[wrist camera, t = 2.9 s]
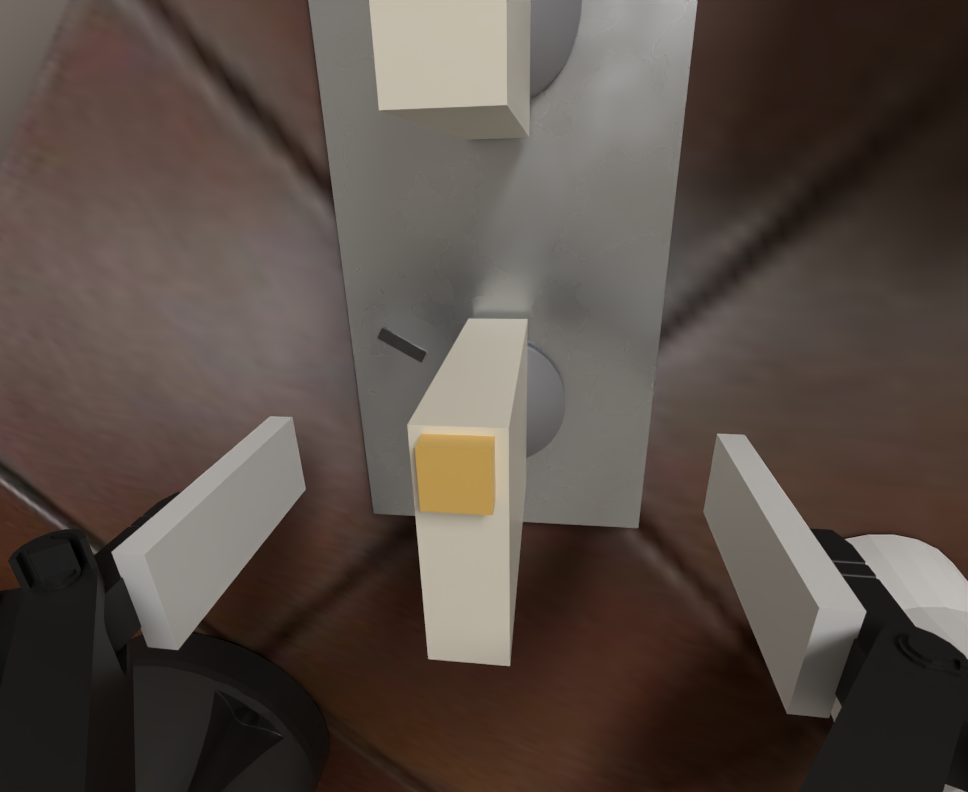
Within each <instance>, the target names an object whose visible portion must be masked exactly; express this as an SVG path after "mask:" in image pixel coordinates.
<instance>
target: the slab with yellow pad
mask: <svg viewBox="0 0 968 792" xmlns="http://www.w3.org/2000/svg"><path fill="white" fill-rule="evenodd" d="M527 334H528V319H470V318H469V319H468V320H467V322H466V324H465V326H464V327H463V329H462V331H461V332H460V334H459V336H458V338H457V339H456V341H455V343H454V345H453V346H452V348H451V350H450V352H449V353H448V355H447V357H446V358H445V360H444V362H443V364H442V365H441V367H440V369H439V371H438V372H437V374H436V376H435V378H434V379H433V381H432V383H431V385H430V386H429V388H428V390H427V391H426V393H425V395H424V397H423V398H422V400H421V402H420V404H419V405H418V407H417V409H416V411H415V412H414V414H413V416H412V417H411V419H410V421H409V423H408V424H407V428H408V439H409V451H410V462H411V473H412V484H413V495H414V506H415V517H416V528H417V540H418V551H419V562H420V573H421V584H422V595H423V606H424V617H425V629H426V640H427V651H428V659H434V660H445V661H456V662H468V663H479V664H490V665H502V666H510V661H511V649H512V638H513V626H514V615H515V603H516V592H517V580H518V569H519V557H520V546H521V534H522V523H523V511H524V500H525V488H526V458H527V457H530V456H532V455H534V454H536V453H537V452H539V451H540V450H542V449H543V448H545V447H546V446H547V445H548V444H549V443H550V442H551V441H552V439H553V438H554V437H555V436H556V434H557V432H558V431H559V429H560V427H561V424H562V422H563V418H564V413H565V392H564V387H563V383H562V380H561V378H560V376H559V374H558V372H557V370H556V368H555V367H554V365H553V364H552V363H551V362H550V361H549V360H548V358H547V357H545V356H544V355H543V354H542V353H541V352H539V351H538V350H536V349H535V348H533V347H531V346H529V345H527Z"/></svg>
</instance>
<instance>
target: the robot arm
mask: <svg viewBox="0 0 968 792" xmlns="http://www.w3.org/2000/svg"><path fill="white" fill-rule="evenodd" d="M305 490H306V487H305V482H304V477H303V471H302V466H301V461H300V455H299V450H298V445H297V439H296V434H295V429H294V423H293V418H292V417H274V416H270V417H269V418H268V419H267V420H265V421H264V422H263V423H262V424H261V425H260V426H258V427H257V428H256V429H255V430H254V431H252V432H251V433H250V434H249V435H248V436H247V437H245V438H244V439H243V440H242V441H241V442H240V443H238V444H237V445H236V446H235V447H234V448H233V449H231V450H230V451H229V452H228V453H227V454H226V455H224V456H223V457H222V458H221V459H220V460H219V461H217V462H216V463H215V464H214V465H213V466H212V467H210V468H209V469H208V470H207V471H206V472H205V473H203V474H202V475H201V476H200V477H199V478H197V479H196V480H195V481H194V482H193V483H192V484H190V485H189V486H188V487H187V488H186V489H185V490H183V491H182V492H177V493H175V494H173V495H171V496H169V497H167V498H165V499H163V500H161V501H160V502H158V503H157V504H155V505H154V506H153V507H152V508H151V509H149V510H148V511H147V512H146V513H145V514H143V517H140V518H139V519H137V520H136V521H135V522H134V523H133V524H131V527H128V528H127V529H125V530H124V531H123V532H122V533H120V534H119V535H118V536H117V537H116V538H114V539H113V540H112V541H111V542H110V543H108V544H107V545H106V546H105V547H104V548H102V549H101V550H100V551H99V552H98V553H96V554H95V555H93V553H92V550H91V548H90V545H89V543H88V540H87V538H86V535H85V533H84V532H83V531H80V530H77V529H65V530H60V531H55V532H51V533H48V534H46V535H43V536H40V537H37V538H35V539H34V540H32V541H30V542H28V543H26V544H24V545H23V546H21V547H20V548H19V549H18V550H16V551H15V552H14V553H13V554H12V556H11V557H10V559H9V560H8V561H9V563H10V566H11V568H12V570H13V572H14V574H15V576H16V578H17V580H18V582H19V584H20V586H21V588H18V589H12V590H5V591H0V792H315V789H316V787H317V784H318V782H319V779H320V777H321V774H322V771H323V769H324V766H325V764H326V761H327V758H328V754H329V736H328V731H327V727H326V725H325V722H324V719H323V717H322V715H321V713H320V712H319V710H318V708H317V707H316V705H315V704H314V702H313V701H312V699H311V698H310V697H309V696H308V694H307V693H306V692H305V691H304V690H303V689H302V688H301V687H300V686H299V685H298V684H297V683H296V682H295V681H294V680H293V679H292V678H291V677H290V676H288V675H287V674H286V673H285V672H283V671H282V670H281V669H279V668H278V667H276V666H275V665H273V664H272V663H270V662H269V661H267V660H266V659H264V658H262V657H260V656H259V655H257V654H255V653H253V652H251V651H249V650H247V649H244V648H242V647H240V646H237V645H235V644H232V643H229V642H226V641H223V640H220V639H217V638H213V637H209V636H205V635H199V634H194V633H192V632H193V631H194V629H195V628H196V627H197V626H198V624H199V623H200V622H201V621H202V619H203V618H204V617H205V616H206V614H207V613H208V612H209V611H210V609H211V608H212V607H213V605H214V604H215V603H216V602H217V600H218V599H219V598H220V597H221V595H222V594H223V593H224V592H225V590H226V589H227V588H228V587H229V585H230V584H231V583H232V582H233V580H234V579H235V578H236V577H237V575H238V574H239V573H240V571H241V570H242V569H243V568H244V566H245V565H246V564H247V563H248V561H249V560H250V559H251V558H252V556H253V555H254V554H255V553H256V551H257V550H258V549H259V548H260V546H261V545H262V544H263V543H264V541H265V540H266V539H267V537H268V536H269V535H270V534H271V532H272V531H273V530H274V529H275V527H276V526H277V525H278V524H279V522H280V521H281V520H282V519H283V517H284V516H285V515H286V514H287V512H288V511H289V510H290V509H291V507H292V506H293V505H294V503H295V502H296V501H297V500H298V498H299V497H300V496H301V495H302V493H303V492H304V491H305ZM704 515H705V517H706V520H707V522H708V524H709V527H710V529H711V532H712V534H713V537H714V539H715V541H716V544H717V546H718V549H719V551H720V553H721V556H722V558H723V561H724V563H725V566H726V568H727V570H728V573H729V575H730V578H731V580H732V582H733V585H734V587H735V590H736V592H737V594H738V597H739V599H740V602H741V604H742V607H743V609H744V611H745V614H746V616H747V619H748V621H749V623H750V626H751V628H752V631H753V633H754V636H755V638H756V640H757V643H758V645H759V648H760V650H761V652H762V655H763V657H764V660H765V662H766V664H767V667H768V669H769V672H770V674H771V677H772V679H773V681H774V684H775V686H776V689H777V691H778V693H779V696H780V698H781V701H782V703H783V706H784V708H785V710H786V713H787V714H794V715H803V716H813V717H822V718H829V716H830V714H831V711H832V708H833V705H834V702H835V699H836V697H837V699H838V701H839V702H840V704H841V706H842V708H841V709H840V711H839V713H838V715H837V717H836V719H835V721H834V723H833V725H832V727H831V729H830V731H829V733H828V735H827V737H826V739H825V741H824V743H823V745H822V747H821V749H820V751H819V753H818V755H817V757H816V759H815V761H814V763H813V765H812V767H811V769H810V771H809V773H808V775H807V777H806V779H805V781H804V783H803V784H802V786H801V788H800V790H799V792H943V790H944V787H945V784H947V785H949V786H952V787H955V788H957V789H960V790H962V791H965V792H968V659H967V658H966V656H965V655H964V654H963V653H962V652H960V651H959V650H958V649H957V648H956V647H955V646H953V645H952V644H951V643H950V642H948V641H946V640H944V639H943V638H941V637H939V636H937V635H936V634H934V633H932V632H929V631H926V630H923V629H921V628H918V627H916V626H915V625H914V624H913V622H912V621H911V620H910V619H909V617H908V616H907V615H906V613H905V612H904V611H903V610H902V608H901V607H900V606H899V604H898V603H897V602H896V601H895V599H894V598H893V597H892V595H891V594H890V593H889V591H888V590H887V589H886V588H885V586H884V585H883V584H882V582H881V581H880V580H879V579H876V575H875V573H874V572H873V571H872V570H871V568H870V567H869V566H868V565H866V564H865V560H864V559H863V558H862V557H861V555H860V554H859V553H858V551H857V550H856V549H855V548H854V546H853V545H852V544H850V543H849V542H848V541H846V540H845V539H844V538H842V537H841V536H839V535H838V534H837V533H835V532H834V531H833V530H824V529H809V527H808V526H807V524H806V523H805V522H804V520H803V519H802V517H801V516H800V514H799V513H798V511H797V510H796V508H795V507H794V506H793V504H792V503H791V501H790V500H789V498H788V497H787V495H786V494H785V493H784V491H783V490H782V488H781V487H780V485H779V484H778V482H777V481H776V479H775V478H774V477H773V475H772V474H771V472H770V471H769V469H768V468H767V466H766V465H765V464H764V462H763V461H762V459H761V458H760V456H759V455H758V453H757V452H756V450H755V449H754V448H753V446H752V445H751V443H750V442H749V440H748V439H747V437H746V436H745V435H739V434H717V436H716V442H715V448H714V453H713V459H712V465H711V471H710V477H709V482H708V488H707V494H706V500H705V506H704ZM140 628H141V631H142V633H143V635H142V636H139V637H136V638H133V639H131V638H132V637H133V636H134V634H135V633H136V632H137V631H138V630H139V629H140ZM130 639H131V640H130Z"/></svg>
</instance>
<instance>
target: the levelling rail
mask: <svg viewBox="0 0 968 792" xmlns="http://www.w3.org/2000/svg"><path fill="white" fill-rule="evenodd" d="M308 2H309V10H310V18H311V25H312V33H313V41H314V49H315V57H316V65H317V73H318V81H319V88H320V96H321V104H322V112H323V120H324V128H325V136H326V143H327V151H328V159H329V167H330V175H331V183H332V191H333V198H334V206H335V214H336V222H337V230H338V238H339V246H340V253H341V261H342V269H343V277H344V285H345V293H346V301H347V308H348V316H349V324H350V332H351V340H352V348H353V356H354V363H355V371H356V379H357V387H358V395H359V403H360V411H361V418H362V426H363V434H364V442H365V450H366V458H367V466H368V473H369V481H370V489H371V497H372V505H373V513H374V514H389V515H407V516H415V506H414V495H413V484H412V473H411V462H410V451H409V439H408V428H407V424H408V423H409V421H410V419H411V417H412V416H413V414H414V412H415V411H416V409H417V407H418V405H419V404H420V402H421V400H422V398H423V397H424V395H425V393H426V391H427V390H428V388H429V386H430V385H431V383H432V381H433V379H434V378H435V376H436V374H437V372H438V371H439V369H440V367H441V365H442V364H443V362H444V360H445V358H446V357H447V355H448V353H449V352H450V350H451V348H452V346H453V345H454V343H455V341H456V339H457V338H458V336H459V334H460V332H461V331H462V329H463V327H464V326H465V324H466V322H467V320H468V319H469V318H470V319H528V334H527V345H529V346H531V347H533V348H535V349H536V350H538V351H539V352H541V353H542V354H543V355H544V356H545V357H547V358H548V360H549V361H550V362H551V363H552V364H553V365H554V367H555V368H556V370H557V372H558V374H559V376H560V378H561V380H562V383H563V387H564V392H565V413H564V418H563V422H562V424H561V427H560V429H559V431H558V432H557V434H556V436H555V437H554V438H553V439H552V441H551V442H550V443H549V444H548V445H547V446H546V447H545V448H543V449H542V450H540V451H539V452H537V453H536V454H534V455H532V456H530V457H527V458H526V488H525V500H524V511H523V522H535V523H553V524H572V525H590V526H608V527H627V528H638V525H639V517H640V508H641V499H642V490H643V481H644V472H645V463H646V454H647V445H648V436H649V427H650V419H651V410H652V401H653V392H654V383H655V374H656V365H657V356H658V347H659V338H660V329H661V321H662V312H663V303H664V294H665V285H666V276H667V267H668V258H669V249H670V240H671V231H672V223H673V214H674V205H675V196H676V187H677V178H678V169H679V160H680V151H681V142H682V133H683V125H684V116H685V107H686V98H687V89H688V80H689V71H690V62H691V53H692V44H693V35H694V27H695V18H696V9H697V0H582V7H581V17H580V23H579V28H578V33H577V36H576V40H575V43H574V46H573V48H572V51H571V53H570V55H569V57H568V59H567V61H566V63H565V64H564V66H563V68H562V70H561V71H560V72H559V74H558V75H557V76H556V77H555V79H554V80H553V81H552V82H551V83H550V84H549V85H548V86H547V87H546V88H545V89H544V90H543V91H541V92H540V93H539V94H538V95H536V96H534V97H533V98H531V99H530V126H529V138H502V139H472V140H461V139H459V138H456V137H453V136H450V135H447V134H444V133H442V132H439V131H436V130H433V129H430V128H427V127H425V126H422V125H419V124H416V123H413V122H411V121H408V120H405V119H402V118H399V117H396V116H394V115H391V114H388V113H385V112H382V111H380V110H379V106H378V94H377V83H376V72H375V61H374V50H373V39H372V28H371V17H370V5H369V0H308Z"/></svg>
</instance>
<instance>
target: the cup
mask: <svg viewBox="0 0 968 792" xmlns="http://www.w3.org/2000/svg"><path fill="white" fill-rule="evenodd" d="M845 540H846V541H848V542H849V543H850V544H852V545H853V546H854V548H855V549H856V550H857V551H858V553H859V554H860V555H861V557H862V558H863V559H864V560H865V564H866V565H868V566H869V567H870V568H871V570H872V571H873V572H874V573H875V575H876V579H879V580H880V581H881V582H882V584H883V585H884V586H885V588H886V589H887V590H888V591H889V593H890V594H891V595H892V597H893V598H894V599H895V601H896V602H897V603H898V604H899V606H900V607H901V608H902V610H903V611H904V612H905V613H906V615H907V616H908V617H909V619H910V620H911V621H912V622H913V624H914V625H915V626H916V627H918V628H921V629H923V630H926V631H929V632H932V633H934V634H936V635H937V636H939V637H941V638H943V639H944V640H946V641H948V642H950V643H951V644H952V645H953V646H955V647H956V648H957V649H958V650H959V651H960V652H962V653H963V654H964V655H965V656H966V658H967V659H968V581H967V580H966V579H965V578H964V576H963V575H962V574H961V573H960V571H959V570H958V569H957V568H956V566H955V565H954V564H953V563H952V562H951V561H950V560H949V559H948V558H947V557H946V556H945V555H944V554H943V553H941V552H940V551H939V550H938V549H936V548H934V547H932V546H930V545H928V544H926V543H924V542H922V541H920V540H917V539H912V538H908V537H903V536H898V535H863V536H858V537H853V538H847V539H845ZM841 708H842V706H841V704H840V702H839V701H838V699H837V697H836V699H835V702H834V705H833V708H832V711H831V715H832V718H833V720H834V721H835V719H836V717H837V715H838V713H839V711H840V709H841ZM943 792H965V791H962V790H960V789H957V788H955V787H952V786H949V785H947V784H945V787H944V790H943Z"/></svg>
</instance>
